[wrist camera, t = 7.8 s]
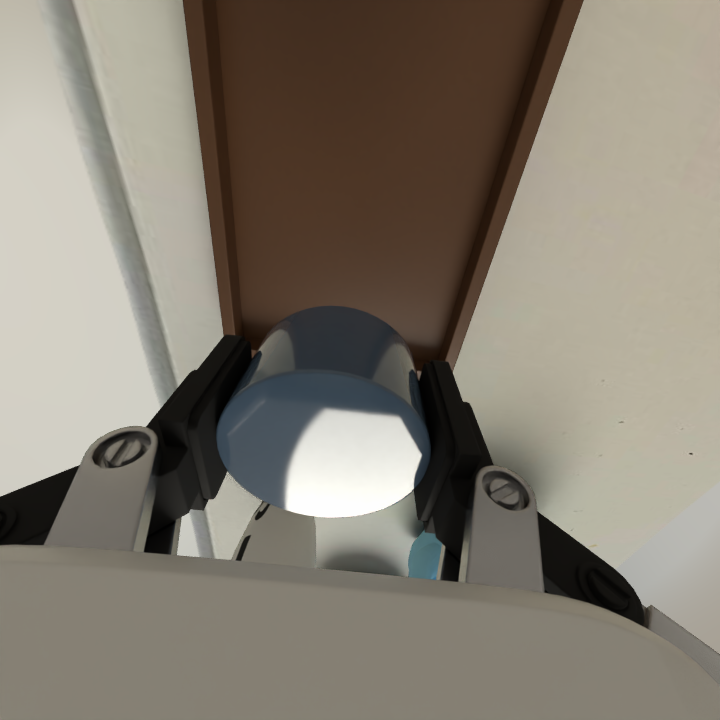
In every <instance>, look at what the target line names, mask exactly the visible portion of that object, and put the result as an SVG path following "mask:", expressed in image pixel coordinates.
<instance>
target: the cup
mask: <svg viewBox="0 0 720 720" xmlns="http://www.w3.org/2000/svg"><path fill="white" fill-rule="evenodd" d="M232 560H234V561H245V562H256V563H267V564H277V565H288V566H299V567H309V568H316V526H315V520H314V516H307V515H302V514H297V513H293V512H290V511H286V510H283V509H281V508H278V507H275V506H273V505H271V504H269V503H266V502H264V501H263V502H262V503H261V505H260V506H259V507H258V509H257V510H256V512H255V513H254V515H253V516H252V518H251V520H250V522H249V524H248V526H247V528H246V530H245V532H244V534H243V536H242V538H241V540H240V542H239V544H238V546H237V548H236V550H235V552H234V554H233V557H232Z"/></svg>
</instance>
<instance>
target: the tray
mask: <svg viewBox="0 0 720 720" xmlns="http://www.w3.org/2000/svg"><path fill="white" fill-rule="evenodd" d="M583 1H584V0H183V6H184V14H185V22H186V30H187V39H188V47H189V55H190V63H191V71H192V80H193V88H194V96H195V104H196V112H197V121H198V129H199V137H200V145H201V153H202V162H203V170H204V178H205V186H206V194H207V203H208V211H209V219H210V227H211V235H212V244H213V252H214V260H215V268H216V277H217V285H218V293H219V301H220V309H221V318H222V326H223V334H224V335H226V334H229V335H237V336H244V337H245V339H246V341H250V343H251V350H252V358H253V356H254V355H255V353H256V351H257V349H258V348H259V346H260V344H261V342H262V341H263V339H264V337H265V336H266V335H267V333H268V332H269V331H270V330H271V329H272V328H273V327H274V326H275V325H276V324H277V323H278V322H280V321H281V320H283V319H284V318H286V317H287V316H290V315H292V314H294V313H296V312H298V311H301V310H304V309H308V308H313V307H318V306H344V307H349V308H355V309H358V310H361V311H364V312H367V313H369V314H371V315H374V316H376V317H378V318H379V319H381V320H383V321H384V322H386V323H387V324H389V325H390V326H391V327H392V328H393V329H395V330H396V331H397V332H398V333H399V334H400V336H401V337H402V338H403V339H404V341H405V342H406V343H407V345H408V347H409V349H410V351H411V353H412V355H413V358H414V361H415V365H416V370H417V375H418V380H419V378H420V375H421V371H422V368H423V365H424V363H428V364H429V362H430V360H438V361H446V362H449V365H450V367H451V370H452V372H453V369H454V367H455V364H456V361H457V358H458V355H459V352H460V350H461V347H462V344H463V341H464V338H465V335H466V332H467V330H468V327H469V324H470V321H471V318H472V315H473V313H474V310H475V307H476V304H477V301H478V298H479V296H480V293H481V290H482V287H483V284H484V281H485V279H486V276H487V273H488V270H489V267H490V264H491V262H492V259H493V256H494V253H495V250H496V247H497V245H498V242H499V239H500V236H501V233H502V230H503V228H504V225H505V222H506V219H507V216H508V213H509V211H510V208H511V205H512V202H513V199H514V196H515V194H516V191H517V188H518V185H519V182H520V179H521V176H522V174H523V171H524V168H525V165H526V162H527V159H528V157H529V154H530V151H531V148H532V145H533V142H534V140H535V137H536V134H537V131H538V128H539V125H540V123H541V120H542V117H543V114H544V111H545V108H546V106H547V103H548V100H549V97H550V94H551V91H552V89H553V86H554V83H555V80H556V77H557V74H558V72H559V69H560V66H561V63H562V60H563V57H564V55H565V52H566V49H567V46H568V43H569V40H570V37H571V35H572V32H573V29H574V26H575V23H576V20H577V18H578V15H579V12H580V9H581V6H582V3H583Z"/></svg>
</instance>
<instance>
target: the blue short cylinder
mask: <svg viewBox="0 0 720 720" xmlns="http://www.w3.org/2000/svg"><path fill="white" fill-rule="evenodd" d="M216 442H217V448H218V453H219V456H220V458H221V460H222V463H223V465H224V466H225V468H226V469H227V471H228V472H229V474H230V475H231V476H232V477H233V478H234V479H235V481H236V482H238V483H239V484H240V485H241V486H242V487H243V488H244V489H246V490H247V491H248V492H250V493H251V494H252V495H254V496H256V497H257V498H259V499H261V500H262V501H264V502H266V503H269V504H271V505H273V506H275V507H278V508H281V509H283V510H286V511H290V512H293V513H297V514H302V515H307V516H314V517H325V518H344V517H354V516H360V515H365V514H369V513H373V512H376V511H379V510H382V509H385V508H387V507H389V506H391V505H393V504H395V503H397V502H399V501H400V500H402V499H404V498H405V497H406V496H407V495H409V494H410V493H411V492H412V491H413V490H414V489H415V488H416V487H417V486H418V485H419V484H420V482H421V481H422V479H423V478H424V476H425V473H426V471H427V468H428V465H429V463H430V459H431V449H432V447H431V440H430V434H429V429H428V424H427V419H426V414H425V409H424V404H423V400H422V395H421V390H420V385H419V380H418V375H417V370H416V365H415V361H414V358H413V355H412V353H411V351H410V349H409V347H408V345H407V343H406V342H405V341H404V339H403V338H402V337H401V336H400V334H399V333H398V332H397V331H396V330H395V329H393V328H392V327H391V326H390V325H389V324H387V323H386V322H384V321H383V320H381V319H379V318H378V317H376V316H374V315H371V314H369V313H367V312H364V311H361V310H358V309H355V308H349V307H344V306H318V307H313V308H308V309H304V310H301V311H298V312H296V313H294V314H292V315H290V316H287V317H286V318H284V319H283V320H281V321H280V322H278V323H277V324H276V325H275V326H274V327H273V328H272V329H271V330H270V331H269V332H268V333H267V335H266V336H265V337H264V339H263V341H262V342H261V344H260V346H259V348H258V349H257V351H256V353H255V355H254V356H253V358H252V360H251V362H250V363H249V365H248V367H247V369H246V370H245V372H244V374H243V376H242V377H241V379H240V381H239V383H238V384H237V386H236V388H235V390H234V391H233V393H232V395H231V397H230V398H229V400H228V402H227V404H226V405H225V407H224V409H223V411H222V413H221V414H220V417H219V420H218V423H217V429H216Z"/></svg>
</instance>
